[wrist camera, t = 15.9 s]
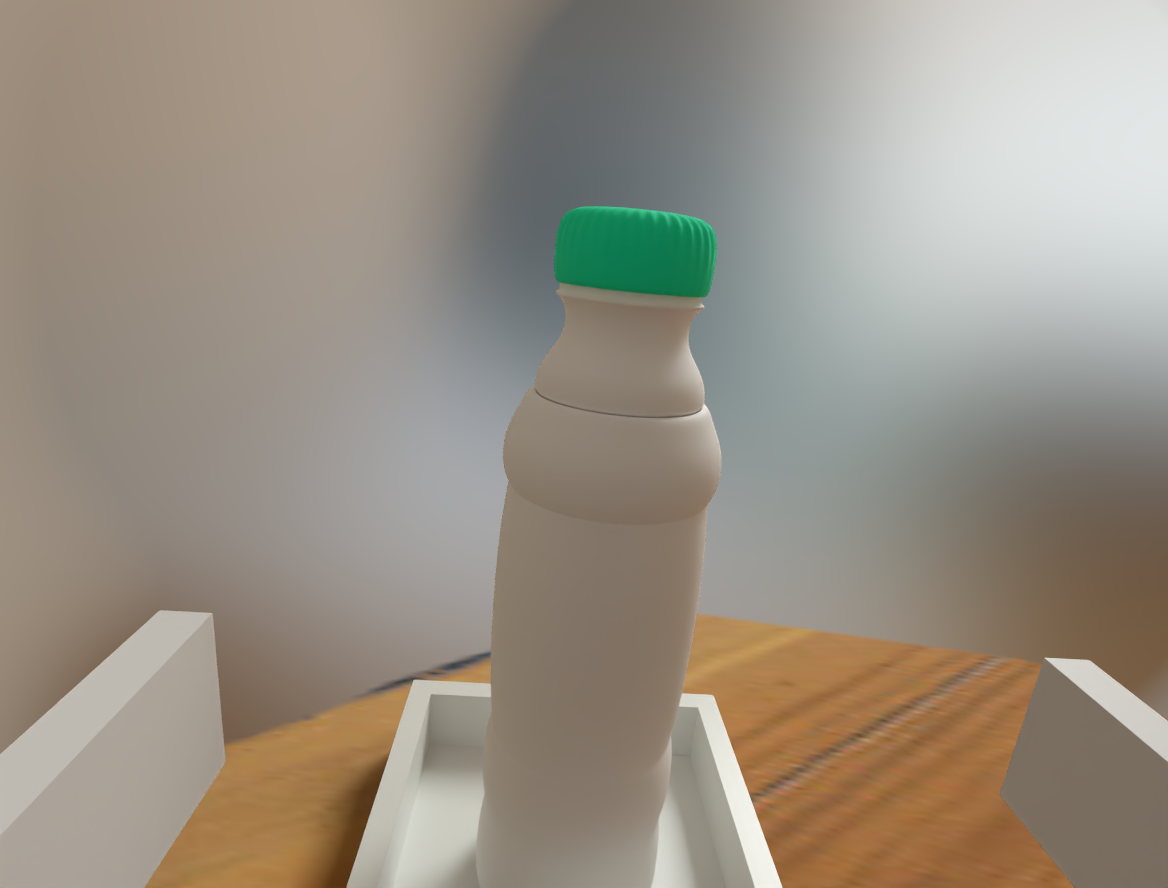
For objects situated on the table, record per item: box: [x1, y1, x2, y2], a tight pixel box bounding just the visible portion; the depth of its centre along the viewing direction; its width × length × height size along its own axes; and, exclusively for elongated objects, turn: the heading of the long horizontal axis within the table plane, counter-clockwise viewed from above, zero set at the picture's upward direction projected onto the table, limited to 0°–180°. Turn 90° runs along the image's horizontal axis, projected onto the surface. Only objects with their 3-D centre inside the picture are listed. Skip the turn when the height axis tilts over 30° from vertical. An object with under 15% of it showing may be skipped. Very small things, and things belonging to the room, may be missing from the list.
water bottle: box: [476, 206, 721, 888], centre depth 23 cm, size 7×7×25 cm
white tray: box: [346, 680, 782, 888], centre depth 26 cm, size 15×15×4 cm
